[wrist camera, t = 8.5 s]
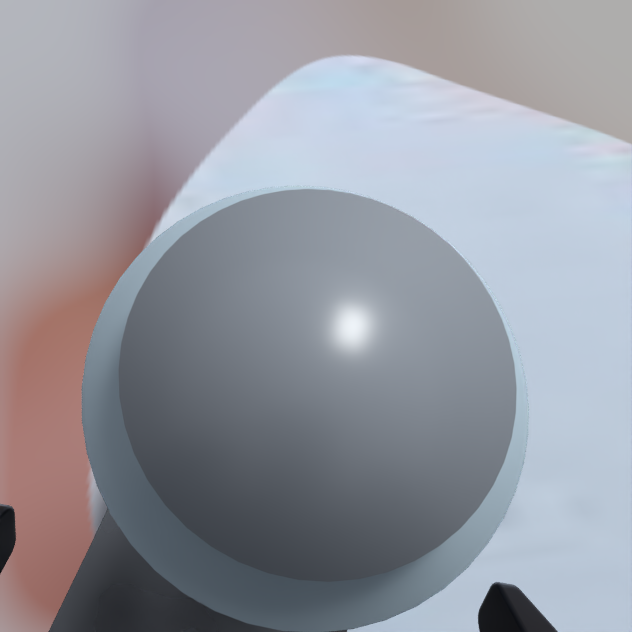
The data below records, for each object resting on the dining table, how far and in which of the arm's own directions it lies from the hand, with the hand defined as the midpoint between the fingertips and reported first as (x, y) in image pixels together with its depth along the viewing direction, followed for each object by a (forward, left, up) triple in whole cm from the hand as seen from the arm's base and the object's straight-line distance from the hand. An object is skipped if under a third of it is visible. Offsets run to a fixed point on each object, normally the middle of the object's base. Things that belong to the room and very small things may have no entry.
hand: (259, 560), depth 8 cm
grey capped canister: (+2, 0, -8) cm, 8 cm away
